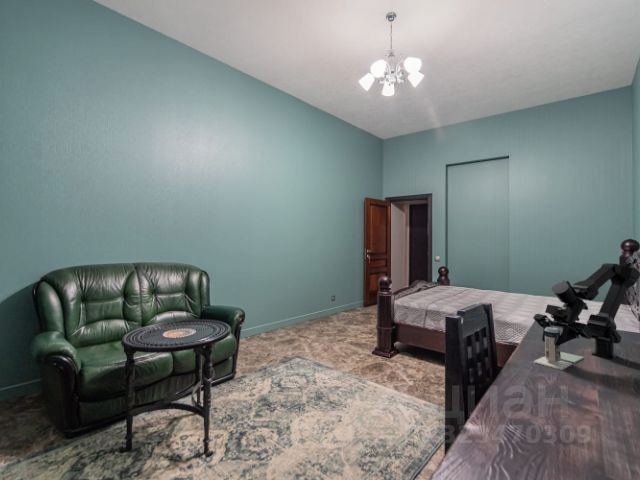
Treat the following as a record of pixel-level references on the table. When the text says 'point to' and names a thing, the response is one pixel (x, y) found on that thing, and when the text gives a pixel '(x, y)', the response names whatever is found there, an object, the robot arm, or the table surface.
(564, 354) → the sage coaster
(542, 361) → the cream coaster
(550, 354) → the cream labeled canister
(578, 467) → the table surface
